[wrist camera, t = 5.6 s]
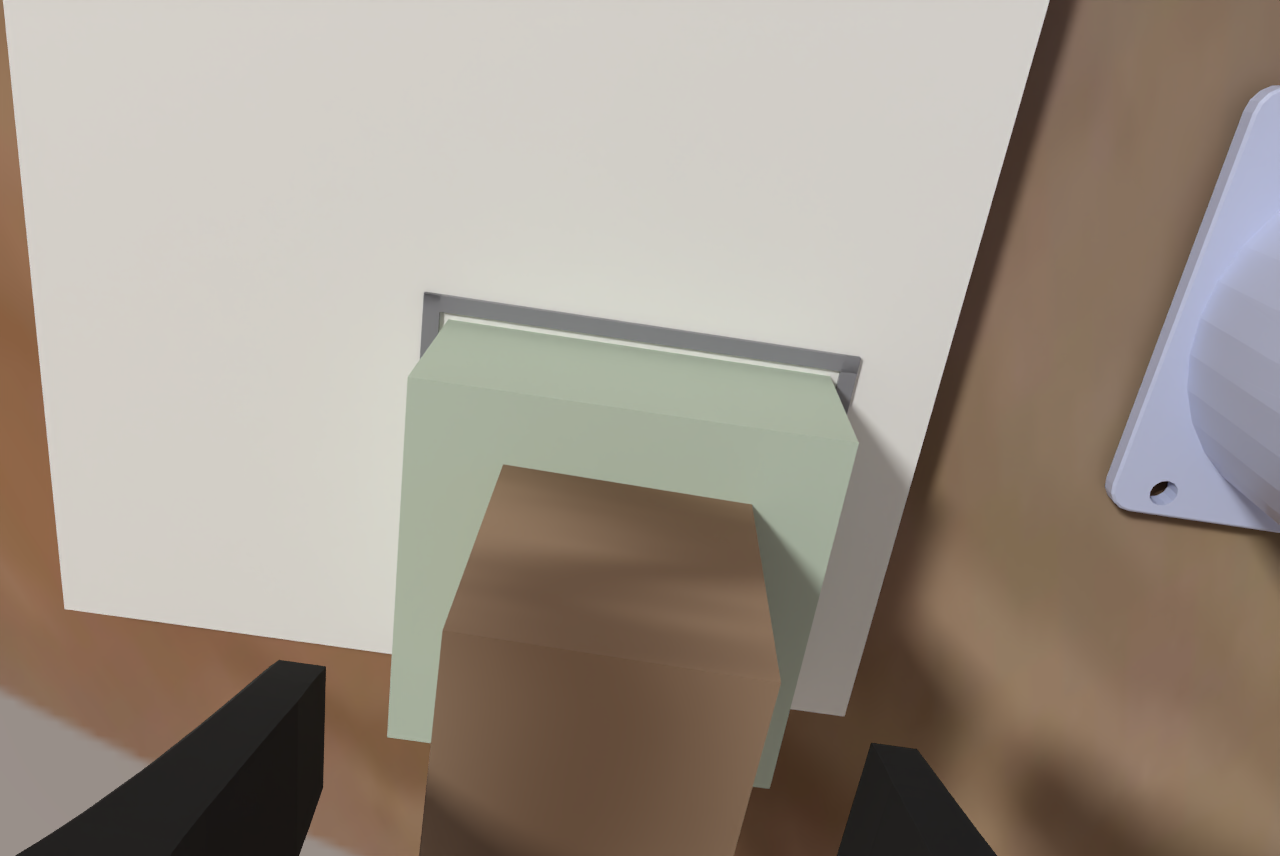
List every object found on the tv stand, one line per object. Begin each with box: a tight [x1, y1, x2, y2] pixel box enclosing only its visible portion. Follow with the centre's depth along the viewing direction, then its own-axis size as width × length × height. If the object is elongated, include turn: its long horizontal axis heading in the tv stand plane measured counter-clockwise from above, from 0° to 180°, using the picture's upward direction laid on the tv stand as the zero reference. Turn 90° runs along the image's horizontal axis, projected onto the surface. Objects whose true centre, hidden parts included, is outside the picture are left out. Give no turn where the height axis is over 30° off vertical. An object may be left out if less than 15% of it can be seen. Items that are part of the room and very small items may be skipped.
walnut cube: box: [419, 464, 781, 856], centre depth 14 cm, size 4×4×4 cm
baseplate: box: [3, 0, 1050, 716], centre depth 18 cm, size 16×17×1 cm
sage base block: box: [387, 319, 859, 789], centre depth 18 cm, size 7×7×3 cm
